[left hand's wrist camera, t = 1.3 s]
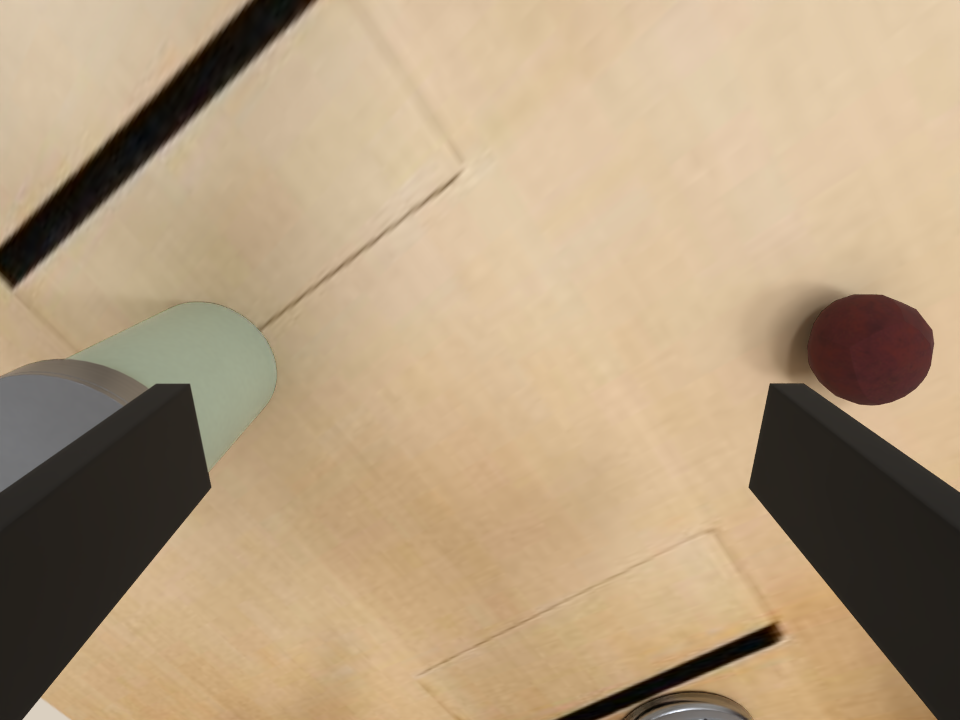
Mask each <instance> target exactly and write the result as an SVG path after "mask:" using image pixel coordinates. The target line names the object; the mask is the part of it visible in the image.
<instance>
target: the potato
mask: <svg viewBox="0 0 960 720" xmlns="http://www.w3.org/2000/svg"><path fill="white" fill-rule="evenodd" d="M807 347H808V360H809V365H810V367H811V369H812V371H813V372H814V374H815V376H816V377H817V379H818V380H819V382H820V383H821V384H823V385H824V386H825V387H826V388H827V389H828V390H829V391H831V392H832V393H833V394H834V395H835V396H837V397H840V398H843V399H845V400H848V401H851V402H854V403H856V404H860V405H881V404H885V403H890V402H893V401H895V400H898V399H900V398H902V397H905V396H906V395H908V394H909V393H910V392H912V391H913V390H915V389H916V388H917V387H918V386H919V385H920V383H921V382H922V381H923V380H924V379H925V377H926V376H927V374H928V371H929V369H930V366H931V360H932V353H933V347H934V339H933V332H932V329H931V328H930V326H929V325H928V324H927V323H926V321H925V320H924V319H923V317H922V316H921V315H920V314H919V312H918V311H917V310H916V309H914V308H912V307H910V306H908V305H906V304H904V303H902V302H899V301H896V300H894V299H891V298H889V297H886V296H884V295H873V294H868V295H851V296H848V297H845V298H842V299H839V300H836V301H835V302H833V303H831V304H830V305H829V306H828V307H827V308H825V309H824V310H823V311H822V312H821V313H820V315H819V316H818V318H817V319H816V321H815V322H814V324H813V328H812V331H811V335H810V338H809V342H808V346H807Z"/></svg>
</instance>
